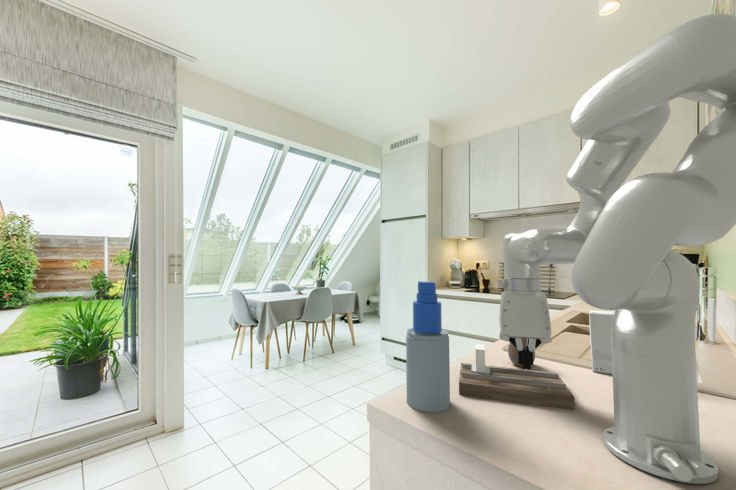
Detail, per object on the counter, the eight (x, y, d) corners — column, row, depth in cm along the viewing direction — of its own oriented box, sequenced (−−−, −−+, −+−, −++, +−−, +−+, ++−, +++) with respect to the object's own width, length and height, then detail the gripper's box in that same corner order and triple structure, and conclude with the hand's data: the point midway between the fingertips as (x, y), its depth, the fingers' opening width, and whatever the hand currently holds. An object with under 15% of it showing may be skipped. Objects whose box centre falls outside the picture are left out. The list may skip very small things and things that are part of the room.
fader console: (574, 409, 61) (574, 391, 61) (459, 394, 68) (458, 377, 68) (556, 383, 74) (556, 368, 75) (461, 372, 81) (461, 359, 82)
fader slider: (490, 378, 70) (489, 350, 71) (471, 375, 72) (471, 348, 72) (489, 370, 75) (488, 344, 76) (471, 368, 76) (471, 343, 77)
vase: (536, 363, 89) (535, 332, 89) (534, 370, 83) (533, 337, 83) (510, 359, 92) (509, 329, 93) (506, 366, 87) (505, 334, 87)
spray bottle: (398, 404, 63) (398, 281, 65) (418, 389, 71) (417, 279, 72) (439, 416, 58) (438, 283, 60) (456, 399, 66) (454, 281, 67)
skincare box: (622, 377, 78) (619, 315, 79) (590, 371, 82) (588, 312, 83) (620, 368, 85) (618, 311, 86) (591, 363, 89) (589, 308, 90)
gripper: (488, 286, 70) (491, 369, 69) (564, 287, 65) (568, 376, 64) (486, 285, 77) (489, 360, 76) (555, 285, 73) (558, 365, 71)
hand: (525, 367), depth 70 cm, fingers closed
